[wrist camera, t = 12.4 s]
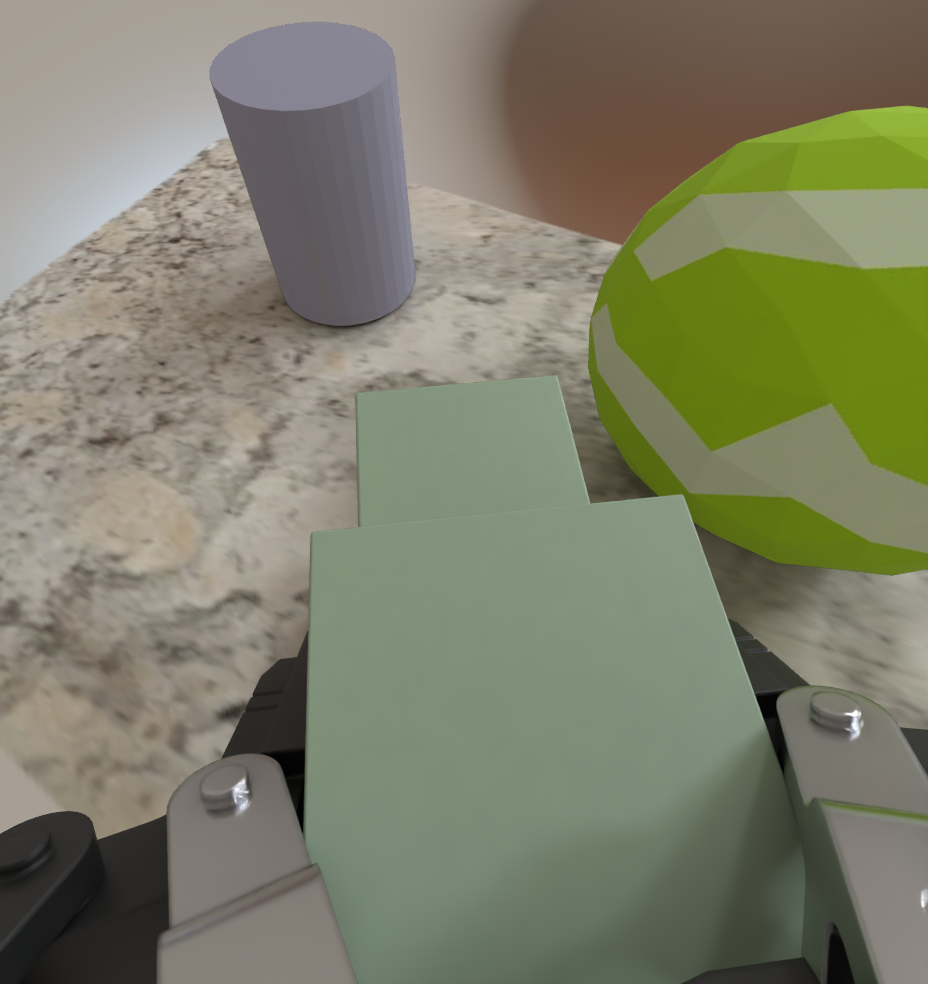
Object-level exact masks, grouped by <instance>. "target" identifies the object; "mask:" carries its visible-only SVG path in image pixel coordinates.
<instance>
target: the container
mask: <svg viewBox="0 0 928 984" xmlns="http://www.w3.org/2000/svg"><path fill="white" fill-rule="evenodd" d="M210 80H211V83H212V86H213V89H214V92H215V95H216V98H217V101H218V104H219V107H220V110H221V113H222V116H223V119H224V122H225V125H226V128H227V131H228V134H229V137H230V140H231V143H232V146H233V149H234V152H235V155H236V158H237V161H238V164H239V167H240V170H241V173H242V175H243V178H244V181H245V184H246V187H247V190H248V193H249V196H250V199H251V202H252V205H253V208H254V211H255V214H256V217H257V220H258V223H259V226H260V229H261V232H262V235H263V238H264V241H265V244H266V247H267V250H268V253H269V256H270V259H271V262H272V265H273V268H274V270H275V273H276V276H277V279H278V282H279V285H280V288H281V291H282V294H283V296H284V299H285V301H286V303H287V304H288V305H289V306H290V308H291V309H292V310H293V311H295V312H296V313H297V314H299V315H300V316H302V317H304V318H306V319H308V320H311V321H314V322H317V323H321V324H326V325H334V326H346V325H356V324H362V323H366V322H369V321H372V320H376V319H378V318H380V317H383V316H385V315H387V314H389V313H390V312H392V311H393V310H395V309H396V308H397V307H399V306H400V305H401V304H402V303H403V302H404V301H405V300H406V299H407V297H408V296H409V294H410V292H411V291H412V289H413V286H414V282H415V266H414V256H413V245H412V234H411V224H410V213H409V203H408V192H407V182H406V173H405V172H406V171H405V161H404V150H403V139H402V129H401V118H400V108H399V97H398V87H397V76H396V65H395V56H394V53H393V51H392V48H391V47H390V46H389V45H388V43H387V42H386V41H385V40H383V39H382V38H381V37H379V36H378V35H377V34H374V33H372V32H370V31H367V30H365V29H362V28H358V27H355V26H351V25H345V24H338V23H328V22H303V23H295V24H286V25H281V26H276V27H271V28H267V29H264V30H261V31H257V32H254V33H252V34H250V35H247V36H245V37H243V38H240V39H239V40H237V41H235V42H233V43H232V44H230V45H228V46H227V47H226V48H225V49H223V50H222V51H221V52H220V53H219V54H218V56H217V57H216V58H215V59H214V60H213V62H212V65H211V67H210Z"/></svg>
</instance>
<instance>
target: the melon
mask: <svg viewBox="0 0 928 984" xmlns="http://www.w3.org/2000/svg"><path fill="white" fill-rule="evenodd" d="M588 369H589V374H590V378H591V382H592V387H593V391H594V396H595V400H596V405H597V409H598V414H599V418H600V420H601V422H602V423H603V425H604V427H605V428H606V430H607V431H608V433H609V435H610V436H611V438H612V440H613V441H614V443H615V445H616V446H617V448H618V450H619V451H620V453H621V455H622V456H623V458H624V460H625V461H626V463H627V465H628V466H629V468H630V469H631V470H632V471H633V472H634V473H635V474H636V475H637V476H638V477H639V478H640V479H641V480H642V481H643V482H644V483H645V484H646V485H647V486H648V487H649V488H650V489H651V490H652V491H653V492H654V493H656V494H657V495H658V496H659V497H660V496H669V495H679V494H681V495H683V496H684V498H685V501H686V504H687V506H688V509H689V512H690V515H691V518H692V520H693V523H695V524H696V525H698V526H700V527H702V528H704V529H705V530H707V531H709V532H711V533H712V534H714V535H716V536H718V537H720V538H722V539H725V540H727V541H729V542H731V543H734V544H736V545H738V546H740V547H743V548H745V549H747V550H749V551H752V552H754V553H756V554H758V555H761V556H763V557H765V558H767V559H769V560H772V561H774V562H776V563H784V564H793V565H802V566H811V567H820V568H829V569H838V570H847V571H856V572H865V573H874V574H883V575H898V574H903V573H909V572H914V571H919V570H925V569H928V109H927V108H919V107H912V106H899V107H889V108H880V109H870V110H859V111H849V112H846V113H842V114H839V115H835V116H832V117H828V118H824V119H821V120H817V121H814V122H811V123H807V124H803V125H800V126H796V127H793V128H790V129H786V130H782V131H779V132H775V133H771V134H768V135H764V136H761V137H758V138H754V139H750V140H747V141H743V142H740V143H738V144H737V145H735V146H734V147H733V148H731V149H730V150H728V151H727V152H725V153H724V154H722V155H721V156H720V157H718V158H717V159H715V160H714V161H712V162H711V163H710V164H708V165H707V166H705V167H704V168H702V169H701V170H699V171H698V172H697V173H695V174H694V175H692V176H691V177H690V178H688V179H687V180H685V181H684V182H683V183H681V184H680V185H679V186H678V187H677V188H675V189H674V190H673V191H672V192H671V193H669V194H668V195H667V196H665V197H664V198H663V199H662V200H661V201H659V202H658V203H657V204H656V205H654V206H653V207H652V208H651V209H650V210H648V211H647V212H646V214H645V215H644V216H643V218H642V219H641V221H640V222H639V223H638V225H637V226H636V228H635V229H634V230H633V232H632V233H631V234H630V236H629V237H628V239H627V240H626V242H625V243H624V244H623V246H622V247H621V248H620V250H619V251H618V253H617V254H616V255H615V257H614V258H613V260H612V261H611V263H610V265H609V267H608V269H607V271H606V273H605V274H604V277H603V280H602V284H601V287H600V290H599V293H598V297H597V300H596V303H595V307H594V310H593V313H592V316H591V321H590V329H589V361H588Z"/></svg>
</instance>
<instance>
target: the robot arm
mask: <svg viewBox="0 0 928 984" xmlns="http://www.w3.org/2000/svg"><path fill="white" fill-rule="evenodd" d="M728 621H729V624H730V627H731V630H732V632H733V635H734V638H735V641H736V644H737V646H738V649H739V652H740V655H741V658H742V660H743V663H744V666H745V669H746V672H747V674H748V677H749V680H750V683H751V686H752V688H753V691H754V694H755V697H756V700H757V702H758V705H759V708H760V711H761V714H762V716H763V719H764V722H765V725H766V728H767V730H768V733H769V736H770V739H771V741H772V744H773V747H774V750H775V753H776V755H777V758H778V761H779V764H780V767H781V769H782V772H783V775H784V778H785V781H786V784H787V788H788V792H789V796H790V800H791V803H792V807H793V811H794V815H795V819H796V823H797V827H798V831H799V834H800V839H801V843H802V849H803V856H804V865H805V902H804V917H803V933H802V949H801V957H800V958H794V959H787V960H780V961H773V962H766V963H759V964H753V965H746V966H739V967H732V968H725V969H718V970H711V971H706V972H704V973H702V974H700V975H698V976H696V977H694V978H692V979H690V980H688V981H686V982H684V983H682V984H928V730H923V729H911V728H902V727H899V726H898V724H897V722H896V721H895V719H894V718H893V717H892V715H891V714H890V713H889V712H888V711H887V710H885V709H884V708H883V707H881V706H880V705H879V704H877V703H875V702H873V701H872V700H870V699H868V698H865V697H863V696H861V695H858V694H855V693H853V692H850V691H846V690H843V689H838V688H833V687H826V686H810V685H809V684H808V683H807V682H806V681H805V680H803V679H802V678H801V677H800V676H799V675H798V674H796V673H795V672H794V671H793V670H792V669H791V668H789V667H788V666H787V665H786V664H785V663H784V662H782V661H781V660H780V659H779V658H778V657H776V656H775V655H774V654H773V653H772V652H768V651H767V648H766V647H765V646H764V645H762V644H761V643H760V642H759V641H758V640H757V639H755V640H754V639H753V636H752V635H751V634H750V633H748V632H747V631H746V630H745V629H744V628H743V627H741V626H740V625H739V624H738V623H737V622H735V621H733V620H730V619H728ZM307 662H308V631H307V634H306V636H305V639H304V641H303V644H302V646H301V649H300V651H299V654H298V656H297V657H296V658H287V659H280V660H279V661H278V662H277V663H276V664H274V665H273V666H272V667H271V668H270V669H269V670H268V671H266V672H265V673H264V674H263V675H262V676H261V678H260V680H259V682H258V684H257V686H256V688H255V690H254V692H253V697H251V698H250V701H249V703H248V705H247V707H246V709H245V710H246V712H245V713H243V715H242V717H241V719H240V721H239V723H238V725H237V727H236V730H235V732H234V734H233V736H232V738H231V740H230V742H229V744H228V746H227V748H226V750H225V752H224V754H223V756H222V759H220V760H218V761H215V762H213V763H211V764H209V765H207V766H205V767H203V768H201V769H199V770H198V771H196V772H195V773H193V774H192V775H191V776H189V777H188V778H187V779H186V780H185V781H184V782H182V783H181V784H180V785H179V787H178V788H177V789H176V790H175V791H174V793H173V795H172V796H171V798H170V800H169V803H168V805H167V814H166V815H164V816H162V817H160V818H158V819H155V820H153V821H150V822H148V823H145V824H142V825H139V826H136V827H134V828H131V829H128V830H125V831H122V832H119V833H116V834H113V835H110V836H108V837H105V838H102V839H99V840H97V837H96V834H95V830H94V826H93V823H92V821H91V820H90V818H89V817H87V816H86V815H84V814H82V813H79V812H71V811H65V812H56V813H50V814H46V815H42V816H39V817H36V818H33V819H30V820H27V821H25V822H23V823H21V824H18V825H16V826H14V827H12V828H10V829H8V830H6V831H4V832H3V833H1V834H0V984H359V983H358V980H357V977H356V974H355V971H354V968H353V965H352V962H351V959H350V956H349V953H348V950H347V947H346V944H345V941H344V938H343V935H342V932H341V929H340V926H339V923H338V920H337V917H336V914H335V911H334V908H333V905H332V902H331V899H330V896H329V893H328V890H327V887H326V884H325V881H324V878H323V875H322V872H321V869H320V867H319V865H318V863H314V864H312V862H311V859H310V856H309V853H308V850H307V847H306V844H305V840H304V837H303V824H304V784H305V743H306V703H307Z"/></svg>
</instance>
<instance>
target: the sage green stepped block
mask: <svg viewBox="0 0 928 984" xmlns="http://www.w3.org/2000/svg"><path fill="white" fill-rule="evenodd" d="M355 401H356V446H357V490H358V527H356V528H347V529H337V530H327V531H317V532H312V533H311V541H310V581H309V622H308V662H307V703H306V743H305V784H304V824H303V837H304V840H305V844H306V847H307V850H308V853H309V856H310V859H311V862H312V864H314V863H318V865H319V867H320V869H321V872H322V875H323V878H324V881H325V884H326V887H327V890H328V893H329V896H330V899H331V902H332V905H333V908H334V911H335V914H336V917H337V920H338V923H339V926H340V929H341V932H342V935H343V938H344V941H345V944H346V947H347V950H348V953H349V956H350V959H351V962H352V965H353V968H354V971H355V974H356V977H357V980H358V983H359V984H682V983H684V982H686V981H688V980H690V979H692V978H694V977H696V976H698V975H700V974H702V973H704V972H706V971H711V970H718V969H725V968H732V967H739V966H746V965H753V964H759V963H766V962H773V961H780V960H787V959H794V958H800V957H801V949H802V933H803V917H804V902H805V865H804V856H803V849H802V843H801V839H800V834H799V831H798V827H797V823H796V819H795V815H794V811H793V807H792V803H791V800H790V796H789V792H788V788H787V784H786V781H785V778H784V775H783V772H782V769H781V767H780V764H779V761H778V758H777V755H776V753H775V750H774V747H773V744H772V741H771V739H770V736H769V733H768V730H767V728H766V725H765V722H764V719H763V716H762V714H761V711H760V708H759V705H758V702H757V700H756V697H755V694H754V691H753V688H752V686H751V683H750V680H749V677H748V674H747V672H746V669H745V666H744V663H743V660H742V658H741V655H740V652H739V649H738V646H737V644H736V641H735V638H734V635H733V632H732V630H731V627H730V624H729V621H728V618H727V616H726V613H725V610H724V607H723V604H722V602H721V599H720V596H719V593H718V590H717V588H716V585H715V582H714V579H713V576H712V574H711V571H710V568H709V565H708V562H707V560H706V557H705V554H704V551H703V548H702V546H701V543H700V540H699V537H698V534H697V532H696V529H695V526H694V523H693V520H692V518H691V515H690V512H689V509H688V506H687V504H686V501H685V498H684V496H683V495H681V494H679V495H669V496H660V497H650V498H640V499H630V500H620V501H611V502H601V503H591V504H590V500H589V496H588V492H587V488H586V484H585V480H584V477H583V473H582V469H581V465H580V461H579V457H578V453H577V450H576V446H575V442H574V438H573V434H572V430H571V427H570V423H569V419H568V415H567V411H566V407H565V403H564V400H563V396H562V392H561V388H560V384H559V380H558V377H557V376H556V375H552V376H540V377H529V378H518V379H507V380H496V381H485V382H474V383H463V384H452V385H441V386H430V387H419V388H408V389H397V390H386V391H375V392H363V393H357V394H356V396H355Z"/></svg>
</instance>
